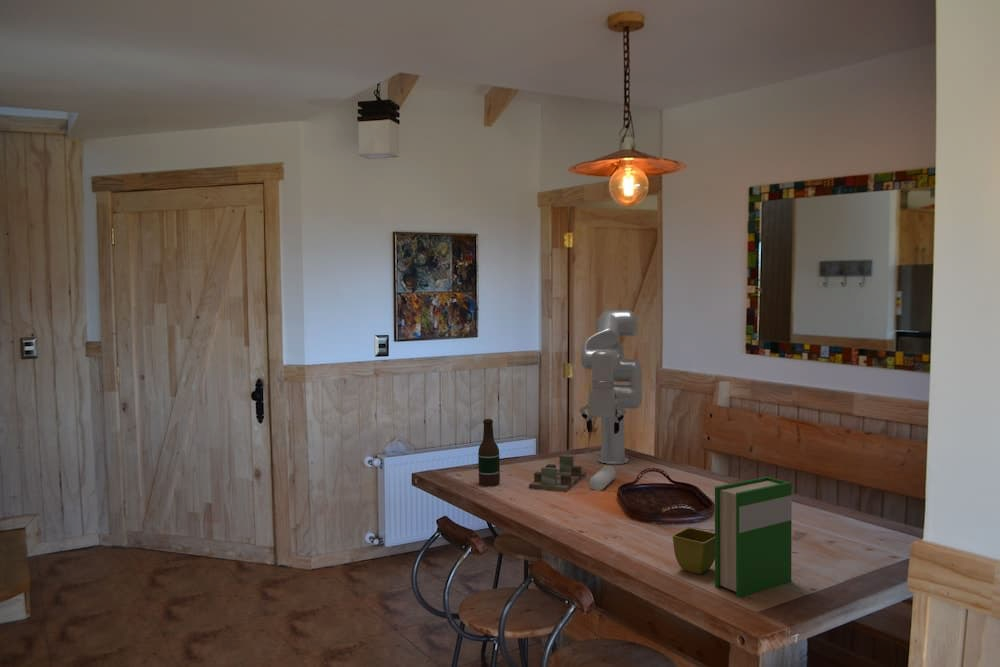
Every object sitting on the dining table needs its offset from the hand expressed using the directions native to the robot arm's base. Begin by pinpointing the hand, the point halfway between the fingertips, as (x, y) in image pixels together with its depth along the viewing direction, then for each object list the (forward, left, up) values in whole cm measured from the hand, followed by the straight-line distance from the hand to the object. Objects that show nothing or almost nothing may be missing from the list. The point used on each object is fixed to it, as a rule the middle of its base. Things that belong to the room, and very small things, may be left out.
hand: (603, 432), depth 274 cm
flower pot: (+74, +43, -19) cm, 88 cm away
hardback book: (+79, +57, -19) cm, 99 cm away
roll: (0, 0, -19) cm, 19 cm away
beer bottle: (+12, -40, -19) cm, 46 cm away
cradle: (+1, -17, -19) cm, 26 cm away
